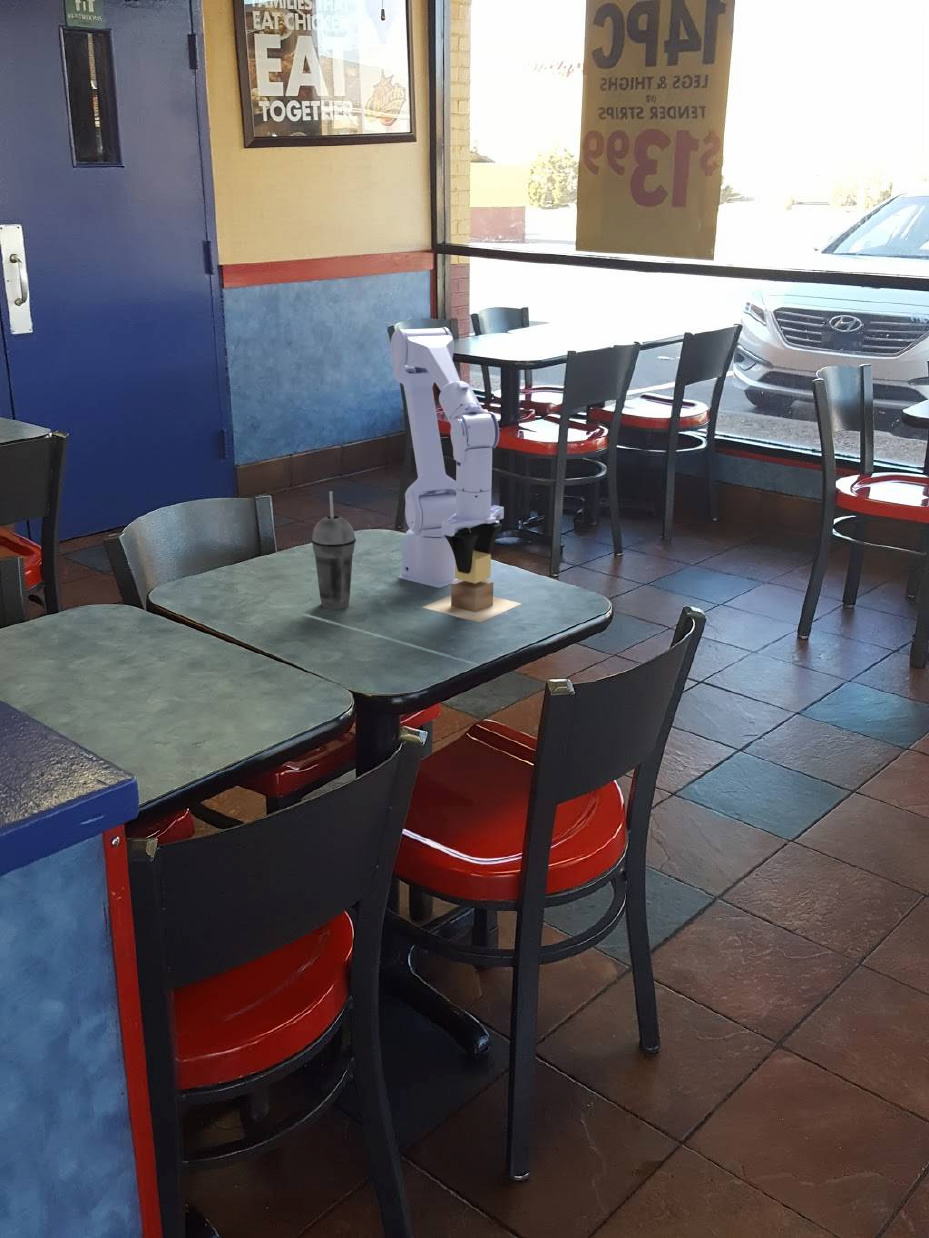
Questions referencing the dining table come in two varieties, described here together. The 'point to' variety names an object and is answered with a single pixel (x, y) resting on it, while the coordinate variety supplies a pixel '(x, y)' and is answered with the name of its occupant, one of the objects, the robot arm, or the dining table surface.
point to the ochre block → (476, 568)
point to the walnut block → (472, 595)
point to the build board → (479, 616)
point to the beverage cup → (334, 559)
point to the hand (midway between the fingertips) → (472, 568)
